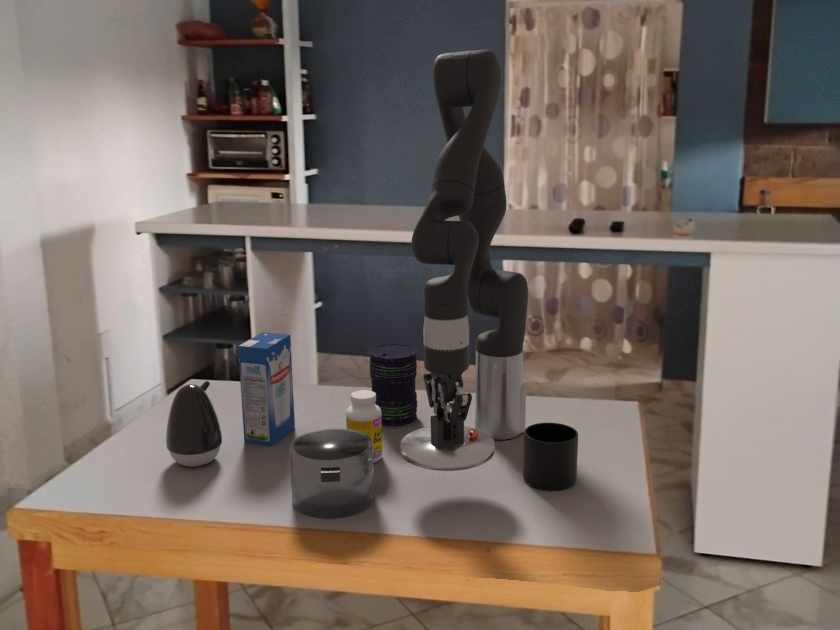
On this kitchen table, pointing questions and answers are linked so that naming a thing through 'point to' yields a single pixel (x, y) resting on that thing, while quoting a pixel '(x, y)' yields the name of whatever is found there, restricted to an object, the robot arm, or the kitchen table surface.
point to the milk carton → (266, 388)
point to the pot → (332, 472)
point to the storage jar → (394, 383)
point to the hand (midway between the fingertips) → (447, 437)
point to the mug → (550, 456)
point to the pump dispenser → (193, 427)
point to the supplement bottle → (366, 419)
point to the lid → (447, 447)
